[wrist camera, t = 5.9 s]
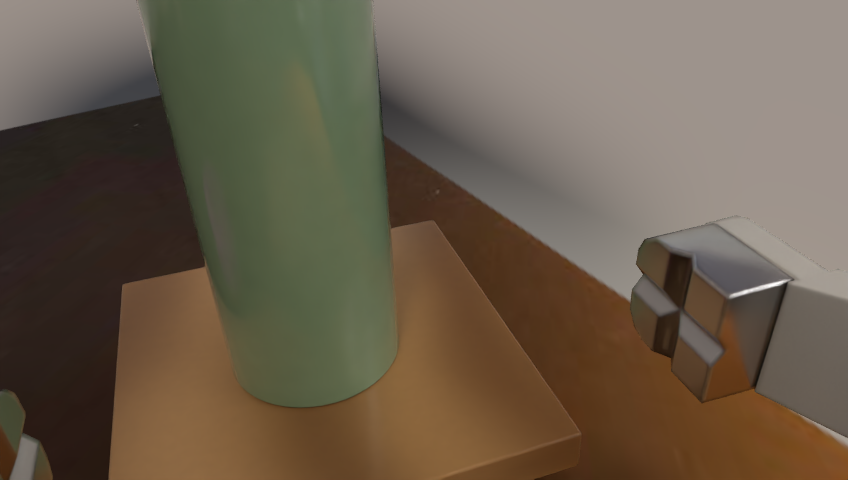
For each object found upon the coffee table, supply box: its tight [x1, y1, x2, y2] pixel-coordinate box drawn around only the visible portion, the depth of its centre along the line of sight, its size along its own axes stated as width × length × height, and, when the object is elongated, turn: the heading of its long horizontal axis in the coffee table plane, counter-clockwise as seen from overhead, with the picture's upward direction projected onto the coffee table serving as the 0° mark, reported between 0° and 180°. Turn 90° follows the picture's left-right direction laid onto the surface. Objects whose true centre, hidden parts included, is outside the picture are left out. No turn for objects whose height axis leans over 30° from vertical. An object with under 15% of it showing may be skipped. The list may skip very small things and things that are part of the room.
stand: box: [108, 220, 582, 480], centre depth 21 cm, size 11×11×6 cm
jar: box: [136, 0, 399, 408], centre depth 16 cm, size 5×5×13 cm
